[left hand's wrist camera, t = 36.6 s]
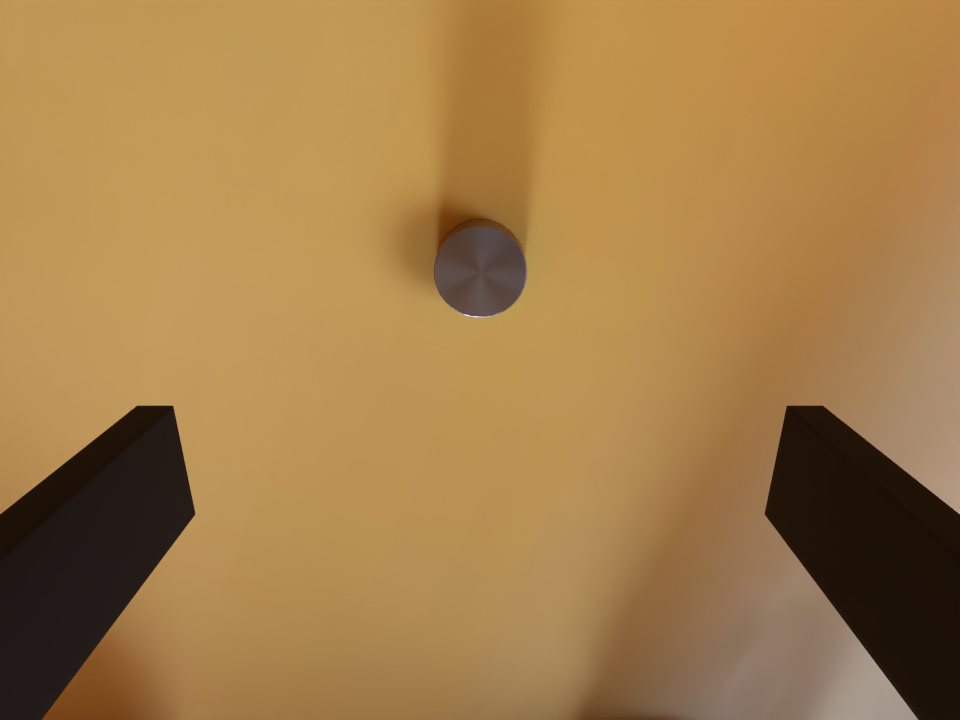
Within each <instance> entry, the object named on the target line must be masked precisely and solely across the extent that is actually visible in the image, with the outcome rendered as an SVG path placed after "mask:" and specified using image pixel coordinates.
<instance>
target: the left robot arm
mask: <svg viewBox="0 0 960 720" xmlns="http://www.w3.org/2000/svg"><path fill="white" fill-rule="evenodd" d="M194 515H195V510H194V505H193V500H192V496H191V491H190V486H189V481H188V476H187V471H186V466H185V461H184V457H183V452H182V447H181V442H180V437H179V432H178V427H177V422H176V418H175V413H174V408H173V406H136V407H135V408H134V409H133V410H131V411H130V412H129V413H128V414H126V415H125V416H124V417H123V418H121V419H120V420H119V421H117V422H116V423H115V424H114V425H112V426H111V427H110V428H109V429H107V430H106V431H105V432H104V433H102V434H101V435H100V436H99V437H97V438H96V439H95V440H94V441H92V442H91V443H90V444H89V445H87V446H86V447H85V448H83V449H82V450H81V451H80V452H78V453H77V454H76V455H75V456H73V457H72V458H71V459H70V460H68V461H67V462H66V463H65V464H63V465H62V466H61V467H60V468H58V469H57V470H56V471H54V472H53V473H52V474H51V475H49V476H48V477H47V478H46V479H44V480H43V481H42V482H41V483H39V484H38V485H37V486H36V487H34V488H33V489H32V490H31V491H29V492H28V493H27V494H26V495H24V496H23V497H22V498H20V499H19V500H18V501H17V502H15V503H14V504H13V505H12V506H10V507H9V508H8V509H7V510H5V511H4V512H3V513H2V514H0V720H42V718H43V717H44V716H45V714H46V713H47V712H48V710H49V709H50V708H51V706H52V705H53V704H54V702H55V701H56V700H57V698H58V697H59V696H60V694H61V693H62V692H63V690H64V689H65V688H66V686H67V685H68V684H69V682H70V681H71V680H72V678H73V677H74V676H75V674H76V673H77V672H78V670H79V669H80V668H81V666H82V665H83V664H84V662H85V661H86V660H87V658H88V657H89V656H90V654H91V653H92V652H93V650H94V649H95V648H96V646H97V645H98V644H99V642H100V641H101V640H102V638H103V637H104V636H105V634H106V633H107V632H108V630H109V629H110V628H111V626H112V625H113V624H114V622H115V621H116V619H117V618H118V617H119V615H120V614H121V613H122V611H123V610H124V609H125V607H126V606H127V605H128V603H129V602H130V601H131V599H132V598H133V597H134V595H135V594H136V593H137V591H138V590H139V589H140V587H141V586H142V585H143V583H144V582H145V581H146V579H147V578H148V577H149V575H150V574H151V573H152V571H153V570H154V569H155V567H156V566H157V565H158V563H159V562H160V561H161V559H162V558H163V557H164V555H165V554H166V553H167V551H168V550H169V549H170V547H171V546H172V545H173V543H174V542H175V541H176V539H177V538H178V537H179V535H180V534H181V533H182V531H183V530H184V529H185V527H186V526H187V525H188V523H189V522H190V521H191V519H192V518H193V517H194ZM765 515H766V517H767V518H768V519H769V521H770V522H771V523H772V525H773V526H774V527H775V529H776V530H777V531H778V533H779V534H780V535H781V537H782V538H783V539H784V541H785V542H786V543H787V545H788V546H789V547H790V549H791V550H792V551H793V553H794V554H795V555H796V557H797V558H798V559H799V561H800V562H801V563H802V565H803V566H804V567H805V569H806V570H807V571H808V573H809V574H810V575H811V577H812V578H813V579H814V581H815V582H816V583H817V585H818V586H819V587H820V589H821V590H822V591H823V593H824V594H825V595H826V597H827V598H828V599H829V601H830V602H831V603H832V605H833V606H834V607H835V609H836V610H837V611H838V613H839V614H840V615H841V617H842V618H843V619H844V621H845V622H846V624H847V625H848V626H849V628H850V629H851V630H852V632H853V633H854V634H855V636H856V637H857V638H858V640H859V641H860V642H861V644H862V645H863V646H864V648H865V649H866V650H867V652H868V653H869V654H870V656H871V657H872V658H873V660H874V661H875V662H876V664H877V665H878V666H879V668H880V669H881V670H882V672H883V673H884V674H885V676H886V677H887V678H888V680H889V681H890V682H891V684H892V685H893V686H894V688H895V689H896V690H897V692H898V693H899V694H900V696H901V697H902V698H903V700H904V701H905V702H906V704H907V705H908V706H909V708H910V709H911V710H912V712H913V713H914V714H915V716H916V717H917V718H918V720H960V514H958V513H957V512H956V511H955V510H953V509H952V508H951V507H950V506H948V505H947V504H946V503H945V502H943V501H942V500H941V499H940V498H938V497H937V496H936V495H934V494H933V493H932V492H931V491H929V490H928V489H927V488H926V487H924V486H923V485H922V484H921V483H919V482H918V481H917V480H916V479H914V478H913V477H912V476H911V475H909V474H908V473H907V472H906V471H904V470H903V469H902V468H900V467H899V466H898V465H897V464H895V463H894V462H893V461H892V460H890V459H889V458H888V457H887V456H885V455H884V454H883V453H882V452H880V451H879V450H878V449H877V448H875V447H874V446H873V445H871V444H870V443H869V442H868V441H866V440H865V439H864V438H863V437H861V436H860V435H859V434H858V433H856V432H855V431H854V430H853V429H851V428H850V427H849V426H848V425H846V424H845V423H844V422H843V421H841V420H840V419H839V418H837V417H836V416H835V415H834V414H832V413H831V412H830V411H829V410H827V409H826V408H825V407H824V406H787V408H786V413H785V418H784V422H783V427H782V432H781V437H780V442H779V447H778V452H777V457H776V461H775V466H774V471H773V476H772V481H771V486H770V491H769V495H768V500H767V505H766V510H765Z"/></svg>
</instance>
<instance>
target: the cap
mask: <svg viewBox="0 0 960 720" xmlns="http://www.w3.org/2000/svg"><path fill="white" fill-rule="evenodd" d="M434 278H435V283H436V286H437V289H438V291H439V293H440V295H441V296H442V298H443V299H444V301H445V302H446V303H447V304H448V305H449V306H450V307H452V308H453V309H454V310H456V311H458V312H460V313H462V314H464V315H467V316H471V317H490V316H494V315H497V314H499V313H502V312H503V311H505V310H507V309H508V308H509V307H511V306H512V305H513V304H514V303H515V302H516V301H517V299H518V298H519V297H520V295H521V293H522V291H523V289H524V287H525V283H526V279H527V264H526V260H525V257H524V253H523V250H522V247H521V245H520V243H519V241H518V239H517V238H516V237H515V235H514V234H513V233H512V232H511V231H510V230H508V229H507V228H506V227H504V226H503V225H501V224H499V223H496V222H493V221H490V220H471V221H468V222H465V223H462V224H460V225H459V226H457V227H455V228H454V229H453V230H451V231H450V232H449V233H448V234H447V236H446V237H445V238H444V240H443V241H442V243H441V245H440V248H439V250H438V254H437V257H436V261H435V265H434Z"/></svg>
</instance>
